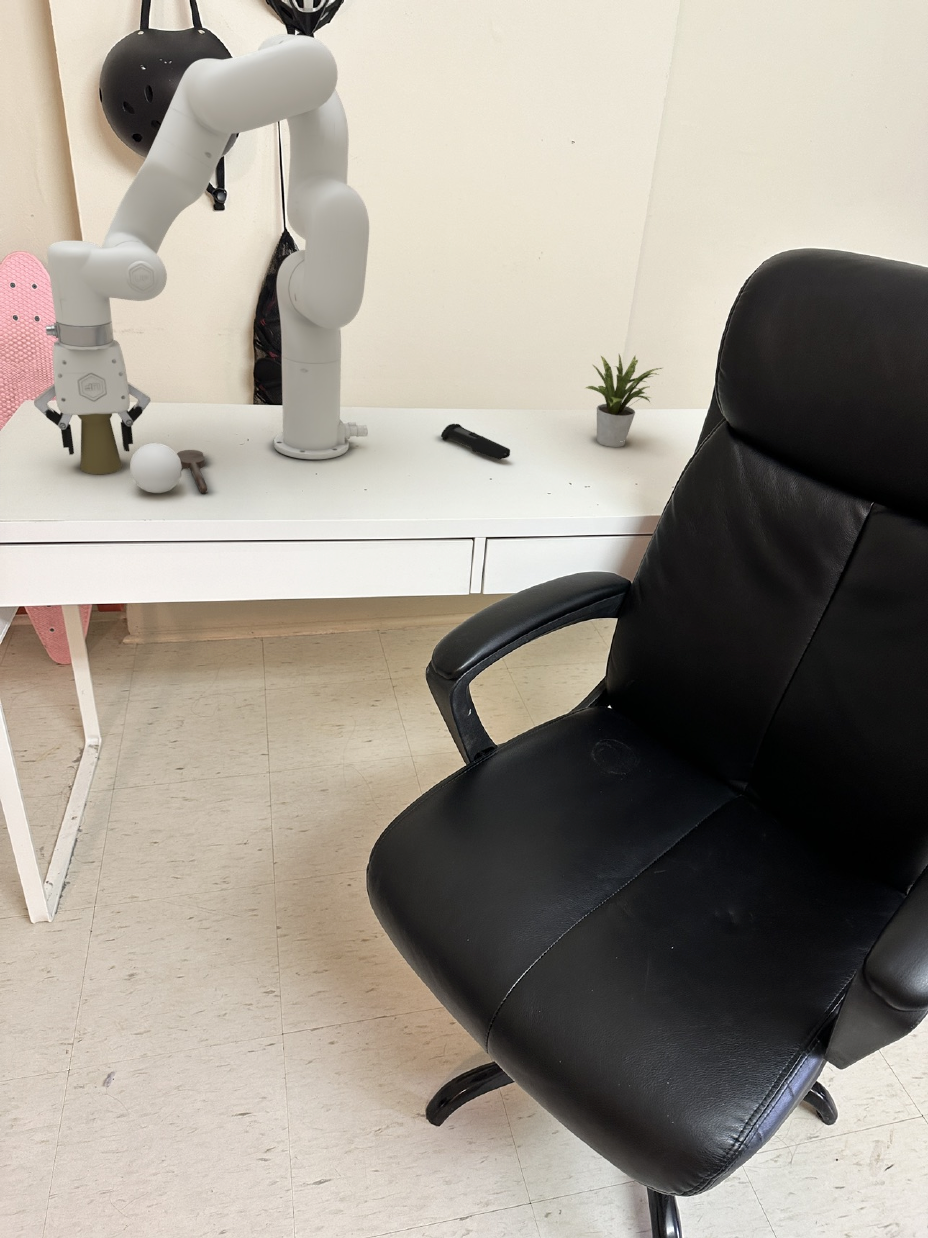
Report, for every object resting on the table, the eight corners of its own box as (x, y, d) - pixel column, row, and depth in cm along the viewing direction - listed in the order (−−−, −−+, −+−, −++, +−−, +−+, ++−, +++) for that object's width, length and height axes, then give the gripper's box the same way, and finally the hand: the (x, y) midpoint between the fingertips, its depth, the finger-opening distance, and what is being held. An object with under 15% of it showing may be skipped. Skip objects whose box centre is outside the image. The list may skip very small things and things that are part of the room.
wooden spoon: (174, 456, 153) (174, 449, 152) (201, 454, 154) (201, 447, 154) (189, 495, 140) (189, 487, 140) (218, 493, 142) (218, 485, 141)
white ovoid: (187, 499, 139) (183, 451, 135) (134, 502, 136) (129, 454, 133) (179, 473, 147) (176, 428, 143) (129, 476, 144) (124, 430, 141)
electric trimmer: (498, 467, 161) (500, 450, 159) (438, 438, 170) (440, 421, 169) (513, 463, 163) (516, 446, 161) (454, 435, 172) (456, 418, 171)
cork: (109, 476, 144) (101, 406, 138) (72, 470, 145) (63, 400, 139) (129, 463, 149) (122, 394, 143) (93, 457, 150) (85, 389, 144)
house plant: (651, 462, 168) (669, 371, 160) (574, 452, 170) (587, 361, 162) (650, 437, 181) (666, 351, 172) (578, 427, 182) (590, 342, 174)
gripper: (19, 341, 130) (38, 462, 139) (151, 339, 137) (160, 455, 146) (19, 327, 136) (37, 444, 145) (145, 326, 143) (155, 438, 151)
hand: (99, 449), depth 145 cm, fingers open, 7 cm apart
